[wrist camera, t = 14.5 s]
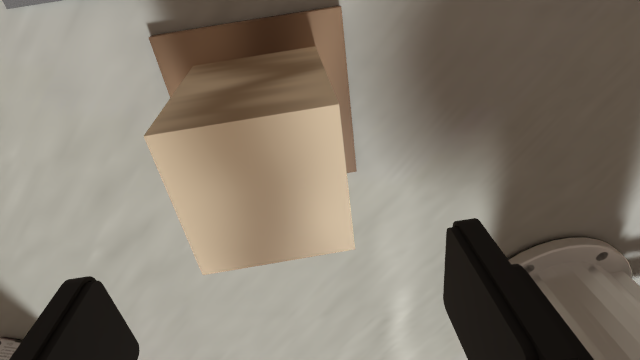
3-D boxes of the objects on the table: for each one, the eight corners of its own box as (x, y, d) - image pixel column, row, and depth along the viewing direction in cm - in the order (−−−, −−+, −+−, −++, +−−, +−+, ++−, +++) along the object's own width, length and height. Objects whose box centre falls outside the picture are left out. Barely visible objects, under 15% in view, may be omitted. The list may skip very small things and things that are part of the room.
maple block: (315, 46, 18) (339, 104, 11) (329, 153, 21) (355, 249, 15) (192, 66, 18) (143, 136, 11) (225, 171, 21) (202, 275, 15)
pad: (339, 5, 18) (341, 7, 17) (354, 167, 23) (356, 171, 22) (151, 35, 18) (148, 37, 17) (207, 191, 22) (206, 196, 22)
